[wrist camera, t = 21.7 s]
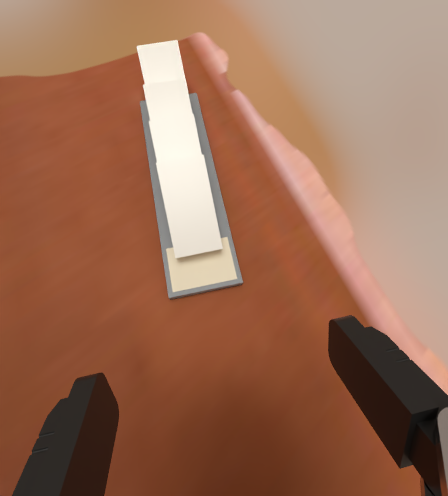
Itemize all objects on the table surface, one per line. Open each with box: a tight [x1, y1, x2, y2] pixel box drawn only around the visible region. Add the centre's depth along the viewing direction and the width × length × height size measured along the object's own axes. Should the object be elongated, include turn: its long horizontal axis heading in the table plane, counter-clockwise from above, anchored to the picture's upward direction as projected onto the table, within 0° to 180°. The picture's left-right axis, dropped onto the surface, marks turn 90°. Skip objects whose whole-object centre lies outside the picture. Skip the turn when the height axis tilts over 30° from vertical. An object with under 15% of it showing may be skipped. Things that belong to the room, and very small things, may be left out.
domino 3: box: [149, 114, 202, 163], centre depth 31 cm, size 2×5×10 cm
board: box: [140, 93, 243, 300], centre depth 34 cm, size 28×8×1 cm, turn 12°
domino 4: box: [156, 155, 223, 258], centre depth 29 cm, size 2×5×10 cm
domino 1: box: [137, 40, 193, 114], centre depth 35 cm, size 2×5×10 cm
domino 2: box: [143, 79, 192, 121], centre depth 33 cm, size 2×5×10 cm
